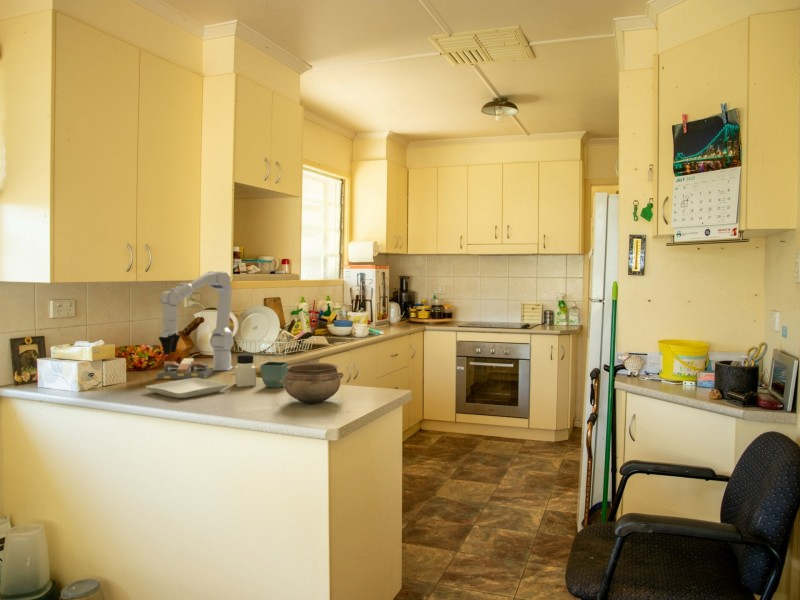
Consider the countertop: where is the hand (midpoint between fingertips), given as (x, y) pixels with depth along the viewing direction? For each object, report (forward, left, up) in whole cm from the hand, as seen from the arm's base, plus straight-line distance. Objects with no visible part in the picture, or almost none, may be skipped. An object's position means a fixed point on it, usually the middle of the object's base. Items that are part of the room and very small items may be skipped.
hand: (169, 353), depth 258 cm
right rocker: (-4, +11, -6) cm, 13 cm away
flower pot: (+21, +46, -10) cm, 52 cm away
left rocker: (-4, 0, -6) cm, 7 cm away
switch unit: (-4, +5, -10) cm, 12 cm away
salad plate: (+32, +16, -11) cm, 38 cm away
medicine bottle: (+17, +34, -10) cm, 40 cm away
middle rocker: (-4, +5, -6) cm, 9 cm away
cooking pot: (+50, +63, -10) cm, 81 cm away
